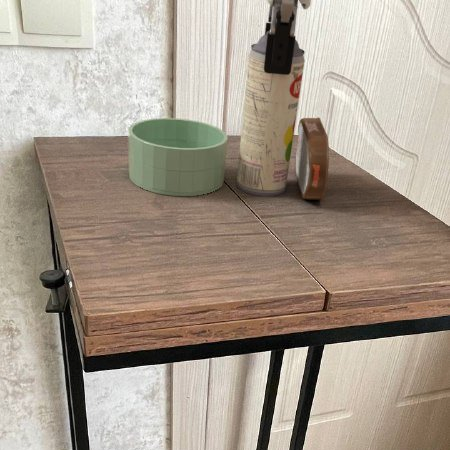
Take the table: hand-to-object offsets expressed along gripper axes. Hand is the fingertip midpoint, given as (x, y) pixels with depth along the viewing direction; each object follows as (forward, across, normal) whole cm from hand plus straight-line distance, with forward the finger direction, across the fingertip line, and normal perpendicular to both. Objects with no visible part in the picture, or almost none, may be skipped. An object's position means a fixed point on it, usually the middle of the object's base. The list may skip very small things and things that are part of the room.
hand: (275, 65), depth 77 cm
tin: (+15, +1, -6) cm, 17 cm away
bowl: (+15, 0, +12) cm, 19 cm away
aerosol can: (+15, 0, 0) cm, 15 cm away
